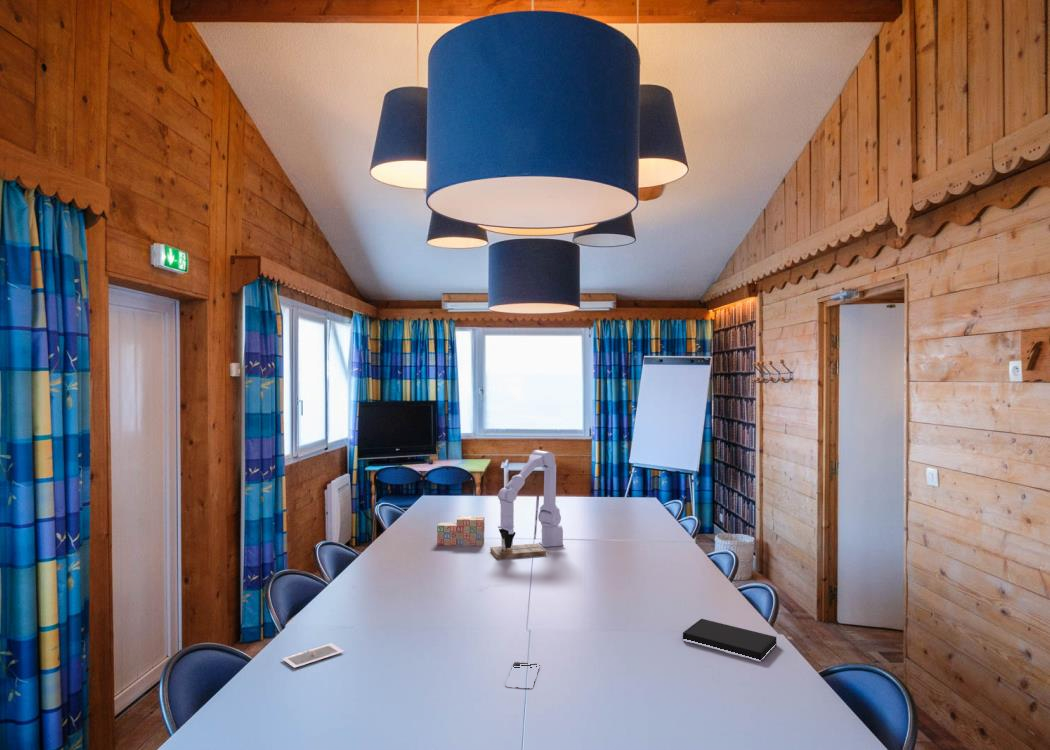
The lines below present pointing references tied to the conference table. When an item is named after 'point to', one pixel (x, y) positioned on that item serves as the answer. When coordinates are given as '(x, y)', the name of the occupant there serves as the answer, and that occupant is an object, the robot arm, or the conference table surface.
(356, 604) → the conference table surface
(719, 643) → the external hard drive
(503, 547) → the fader tab
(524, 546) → the fader console
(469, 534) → the stack of blocks
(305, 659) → the touchpad
